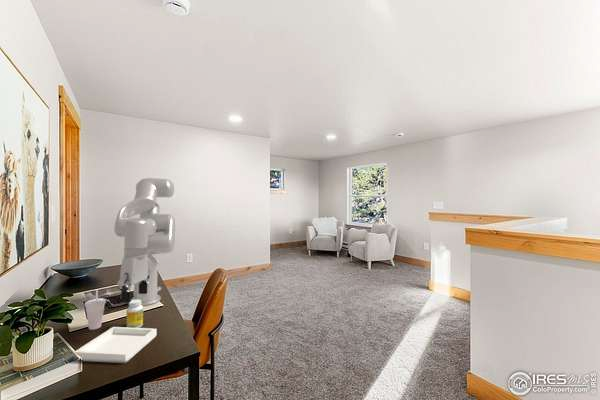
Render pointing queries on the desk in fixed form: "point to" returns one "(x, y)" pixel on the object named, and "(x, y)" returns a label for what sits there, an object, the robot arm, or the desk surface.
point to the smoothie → (95, 312)
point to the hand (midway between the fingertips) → (134, 297)
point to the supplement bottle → (135, 314)
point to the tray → (116, 344)
